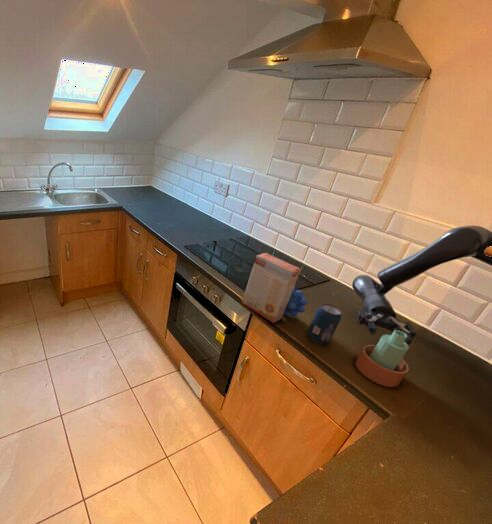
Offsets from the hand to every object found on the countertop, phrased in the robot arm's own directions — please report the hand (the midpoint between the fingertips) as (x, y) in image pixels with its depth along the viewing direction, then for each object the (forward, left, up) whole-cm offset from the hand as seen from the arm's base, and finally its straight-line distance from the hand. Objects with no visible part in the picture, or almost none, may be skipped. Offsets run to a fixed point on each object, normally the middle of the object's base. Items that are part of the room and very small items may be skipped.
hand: (391, 337), depth 87 cm
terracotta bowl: (+2, +3, -11) cm, 11 cm away
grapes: (+12, -26, -11) cm, 30 cm away
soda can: (+9, -13, -11) cm, 20 cm away
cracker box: (+20, -30, -11) cm, 38 cm away
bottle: (+2, +2, -10) cm, 11 cm away
